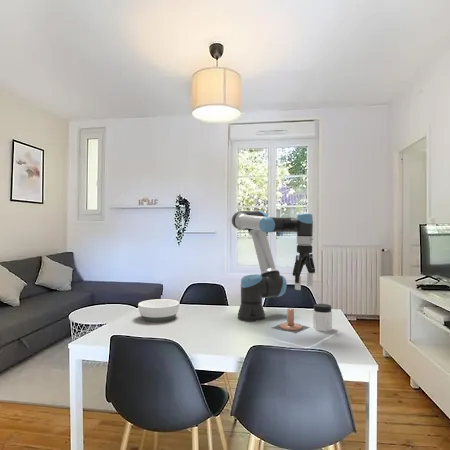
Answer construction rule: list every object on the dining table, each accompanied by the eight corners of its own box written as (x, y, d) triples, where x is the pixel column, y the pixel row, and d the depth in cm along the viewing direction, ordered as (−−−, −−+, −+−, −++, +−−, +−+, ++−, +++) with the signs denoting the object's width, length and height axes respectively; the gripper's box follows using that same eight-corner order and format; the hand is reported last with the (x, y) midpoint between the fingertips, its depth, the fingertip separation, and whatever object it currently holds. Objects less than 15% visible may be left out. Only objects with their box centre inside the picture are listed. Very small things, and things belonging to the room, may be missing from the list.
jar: (322, 333, 169) (322, 308, 169) (309, 329, 176) (309, 304, 176) (335, 330, 174) (335, 305, 174) (322, 326, 181) (322, 302, 181)
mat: (270, 329, 177) (270, 327, 177) (285, 323, 187) (285, 322, 187) (296, 334, 167) (296, 333, 167) (310, 328, 178) (310, 327, 178)
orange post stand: (275, 327, 177) (275, 309, 177) (286, 323, 185) (286, 305, 185) (294, 331, 170) (294, 312, 170) (306, 327, 178) (306, 308, 178)
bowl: (129, 321, 192) (129, 305, 192) (153, 312, 213) (153, 297, 213) (165, 325, 184) (165, 308, 184) (186, 315, 205) (186, 300, 205)
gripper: (300, 246, 165) (299, 292, 166) (322, 244, 185) (321, 285, 185) (285, 245, 170) (285, 290, 170) (308, 243, 190) (307, 283, 190)
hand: (304, 287), depth 178 cm, fingers open, 13 cm apart
